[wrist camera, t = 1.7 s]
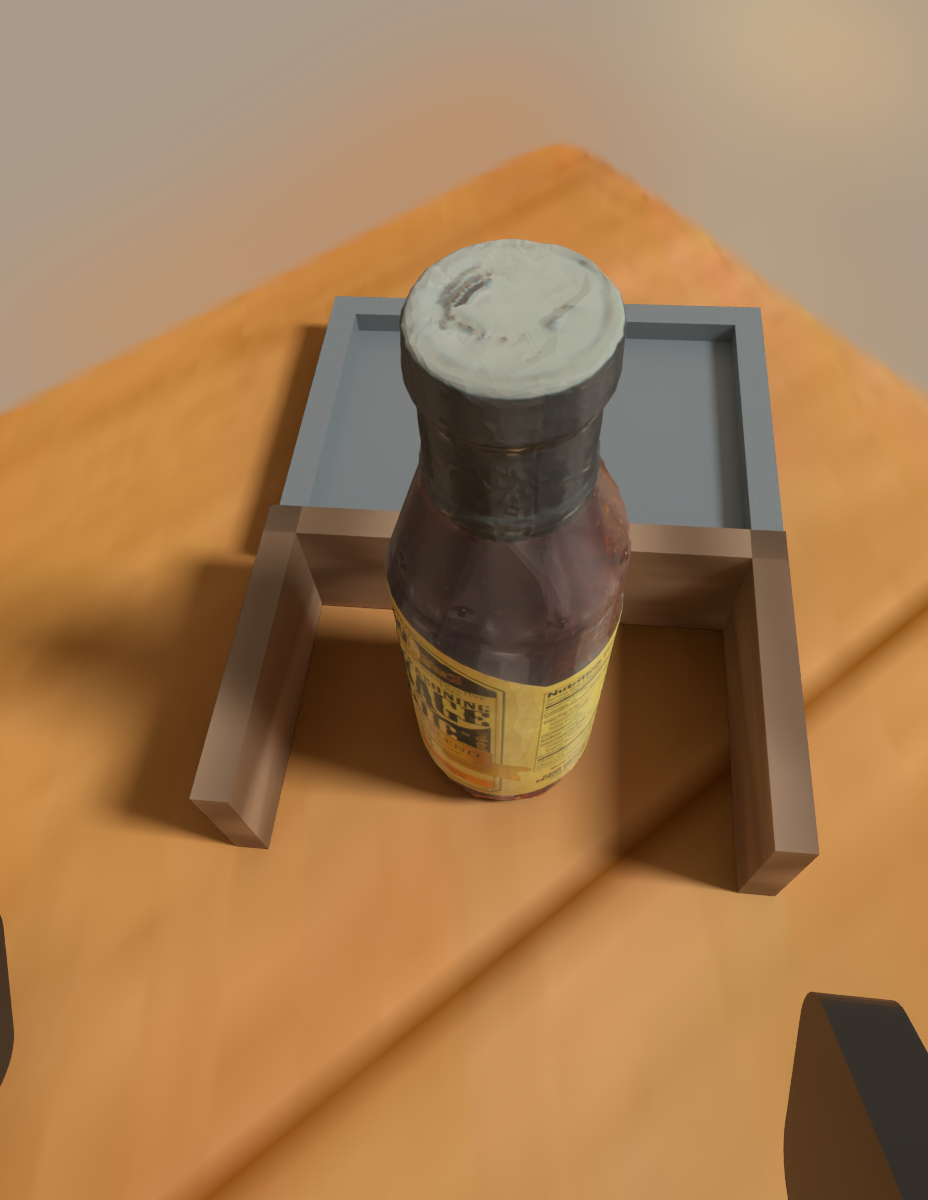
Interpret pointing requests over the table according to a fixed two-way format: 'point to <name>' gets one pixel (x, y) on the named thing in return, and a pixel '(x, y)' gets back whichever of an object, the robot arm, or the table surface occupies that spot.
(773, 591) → the holder
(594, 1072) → the table surface
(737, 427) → the tray
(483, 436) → the sauce bottle
